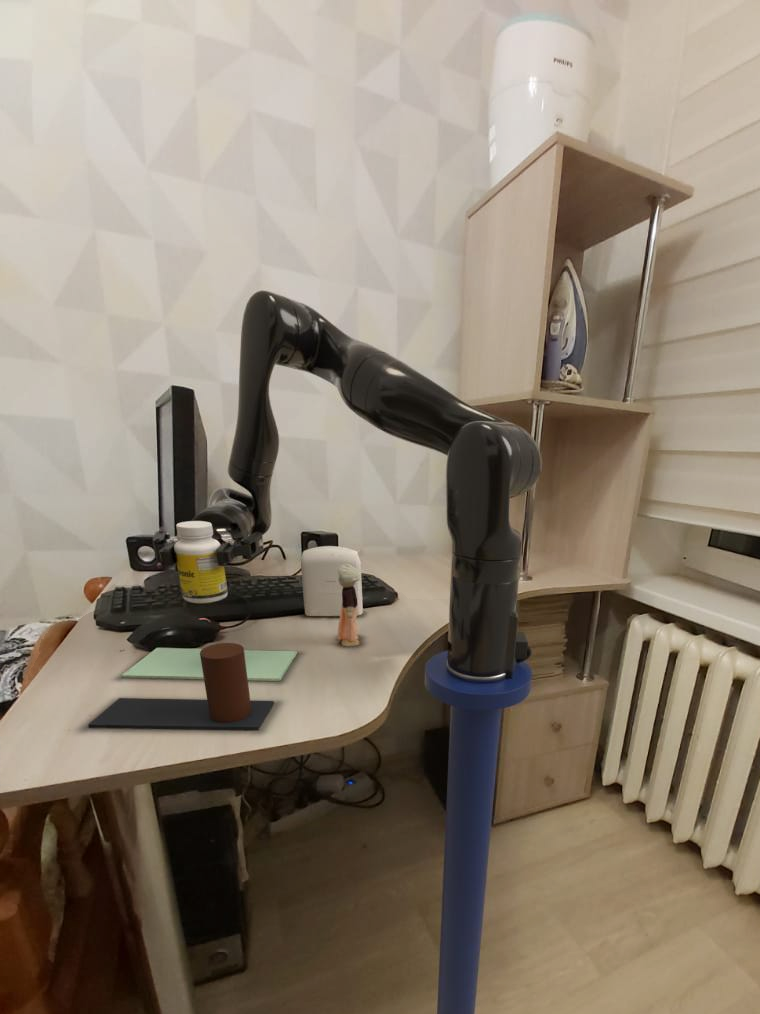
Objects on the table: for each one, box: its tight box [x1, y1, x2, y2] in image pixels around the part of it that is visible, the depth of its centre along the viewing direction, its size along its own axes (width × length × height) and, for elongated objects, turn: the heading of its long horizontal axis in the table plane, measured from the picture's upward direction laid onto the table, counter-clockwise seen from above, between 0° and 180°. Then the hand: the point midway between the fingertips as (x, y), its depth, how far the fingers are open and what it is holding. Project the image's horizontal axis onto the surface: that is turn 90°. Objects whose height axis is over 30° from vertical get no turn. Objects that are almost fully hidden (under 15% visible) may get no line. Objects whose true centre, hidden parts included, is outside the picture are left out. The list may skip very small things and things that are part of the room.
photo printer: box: [300, 545, 364, 617], centre depth 91 cm, size 10×4×12 cm, turn 99°
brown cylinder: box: [200, 642, 251, 723], centre depth 59 cm, size 4×4×8 cm
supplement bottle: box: [174, 520, 229, 604], centre depth 67 cm, size 5×5×10 cm
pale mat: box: [121, 647, 298, 682], centre depth 72 cm, size 20×9×1 cm, turn 94°
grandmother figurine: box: [337, 564, 362, 647], centre depth 80 cm, size 8×4×13 cm, turn 23°
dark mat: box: [87, 697, 275, 731], centre depth 60 cm, size 18×6×1 cm, turn 94°
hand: (194, 558), depth 64 cm, fingers closed on supplement bottle, 5 cm apart
